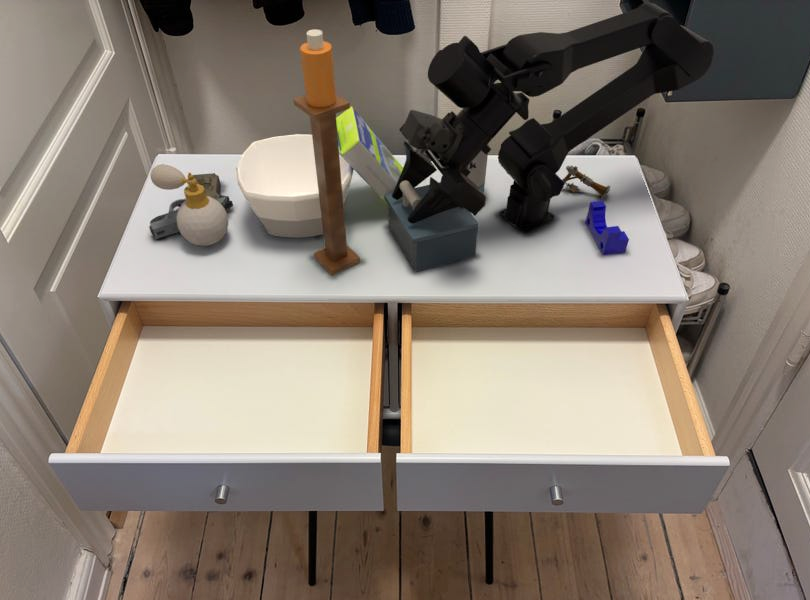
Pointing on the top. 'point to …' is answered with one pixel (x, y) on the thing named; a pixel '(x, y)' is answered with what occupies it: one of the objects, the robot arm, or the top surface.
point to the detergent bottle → (318, 70)
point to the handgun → (168, 221)
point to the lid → (430, 226)
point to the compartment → (434, 246)
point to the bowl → (285, 184)
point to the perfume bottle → (193, 207)
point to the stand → (329, 184)
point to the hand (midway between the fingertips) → (401, 209)
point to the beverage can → (478, 170)
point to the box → (367, 153)
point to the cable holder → (605, 230)
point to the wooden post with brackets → (586, 180)
